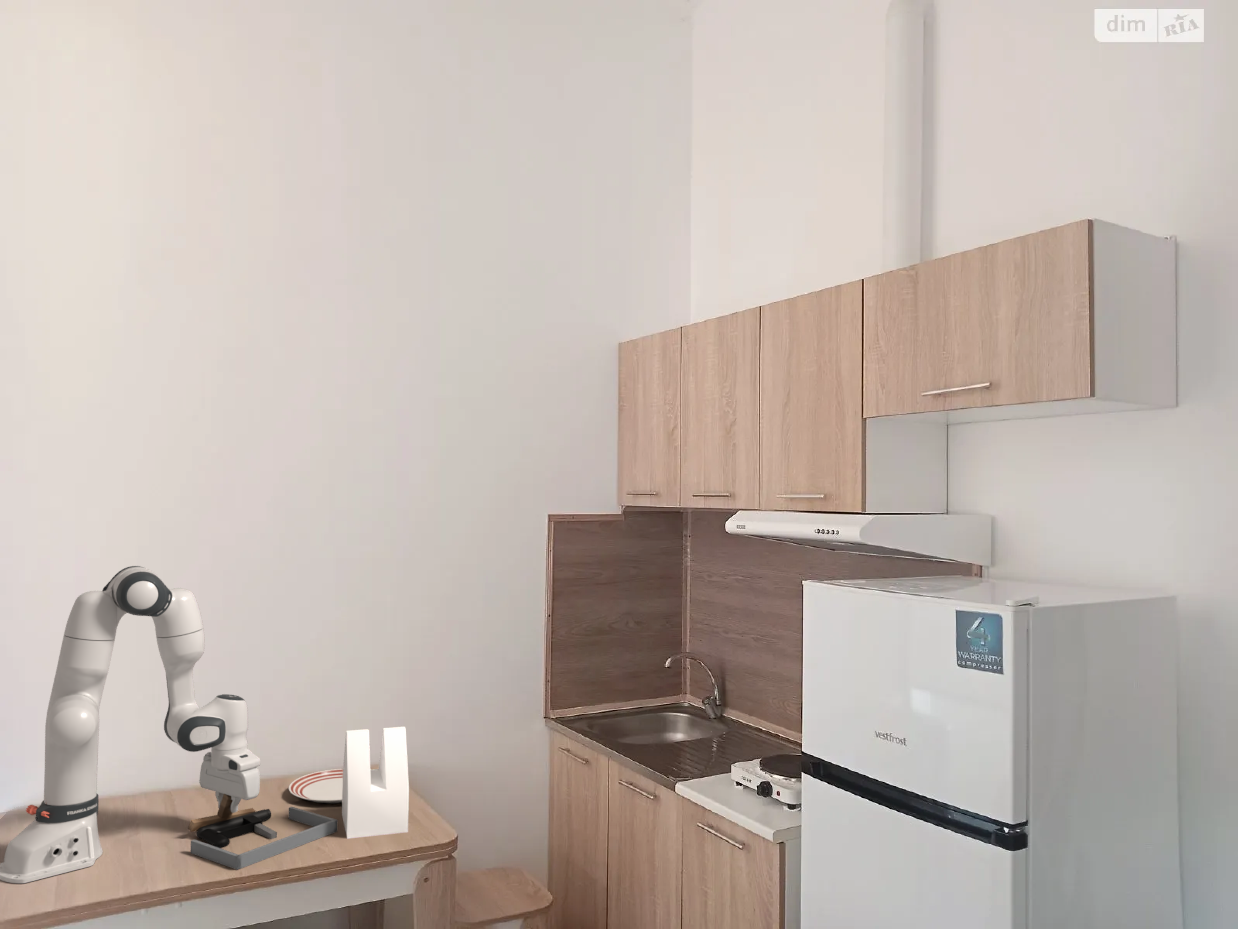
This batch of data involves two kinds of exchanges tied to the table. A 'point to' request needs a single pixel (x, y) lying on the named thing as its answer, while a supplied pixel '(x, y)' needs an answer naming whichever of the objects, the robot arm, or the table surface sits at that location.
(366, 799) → the white fork-shaped stand
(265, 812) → the black angular piece
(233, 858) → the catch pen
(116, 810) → the table surface
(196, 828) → the walnut scraper
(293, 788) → the dinner plate
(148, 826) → the table surface
